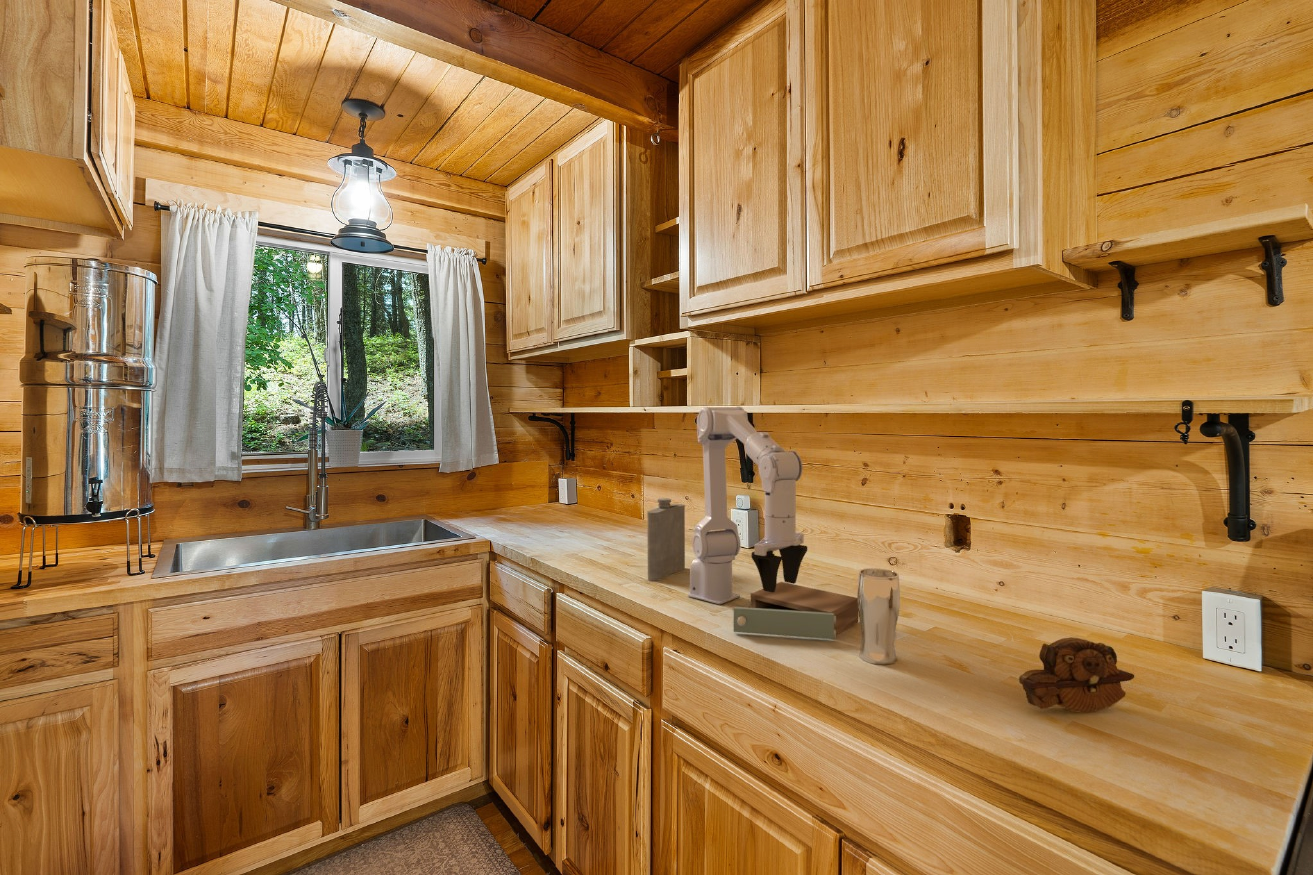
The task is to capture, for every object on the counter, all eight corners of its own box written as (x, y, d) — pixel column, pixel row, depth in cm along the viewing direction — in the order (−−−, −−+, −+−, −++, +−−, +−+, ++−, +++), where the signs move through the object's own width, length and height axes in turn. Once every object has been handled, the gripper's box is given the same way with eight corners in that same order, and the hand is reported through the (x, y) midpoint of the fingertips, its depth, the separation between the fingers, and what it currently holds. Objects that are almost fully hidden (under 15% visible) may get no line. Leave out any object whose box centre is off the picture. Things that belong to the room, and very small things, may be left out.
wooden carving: (1040, 723, 86) (1042, 652, 85) (1015, 708, 90) (1016, 640, 90) (1141, 712, 89) (1143, 643, 88) (1111, 697, 93) (1113, 632, 93)
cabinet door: (732, 634, 119) (732, 610, 119) (734, 630, 121) (734, 606, 121) (836, 641, 115) (836, 617, 114) (835, 637, 117) (835, 613, 117)
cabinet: (750, 617, 130) (750, 593, 130) (781, 603, 139) (781, 581, 138) (830, 638, 118) (830, 612, 117) (858, 622, 126) (858, 598, 126)
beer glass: (865, 647, 113) (866, 565, 113) (904, 656, 109) (905, 571, 108) (850, 659, 108) (851, 573, 107) (891, 669, 103) (892, 580, 103)
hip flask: (655, 581, 157) (655, 503, 156) (642, 579, 159) (641, 501, 158) (686, 568, 171) (686, 495, 170) (674, 566, 173) (673, 494, 172)
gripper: (778, 523, 109) (778, 599, 110) (817, 512, 120) (817, 582, 121) (744, 518, 114) (744, 591, 115) (785, 509, 125) (785, 576, 126)
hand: (779, 586), depth 118 cm, fingers open, 7 cm apart
